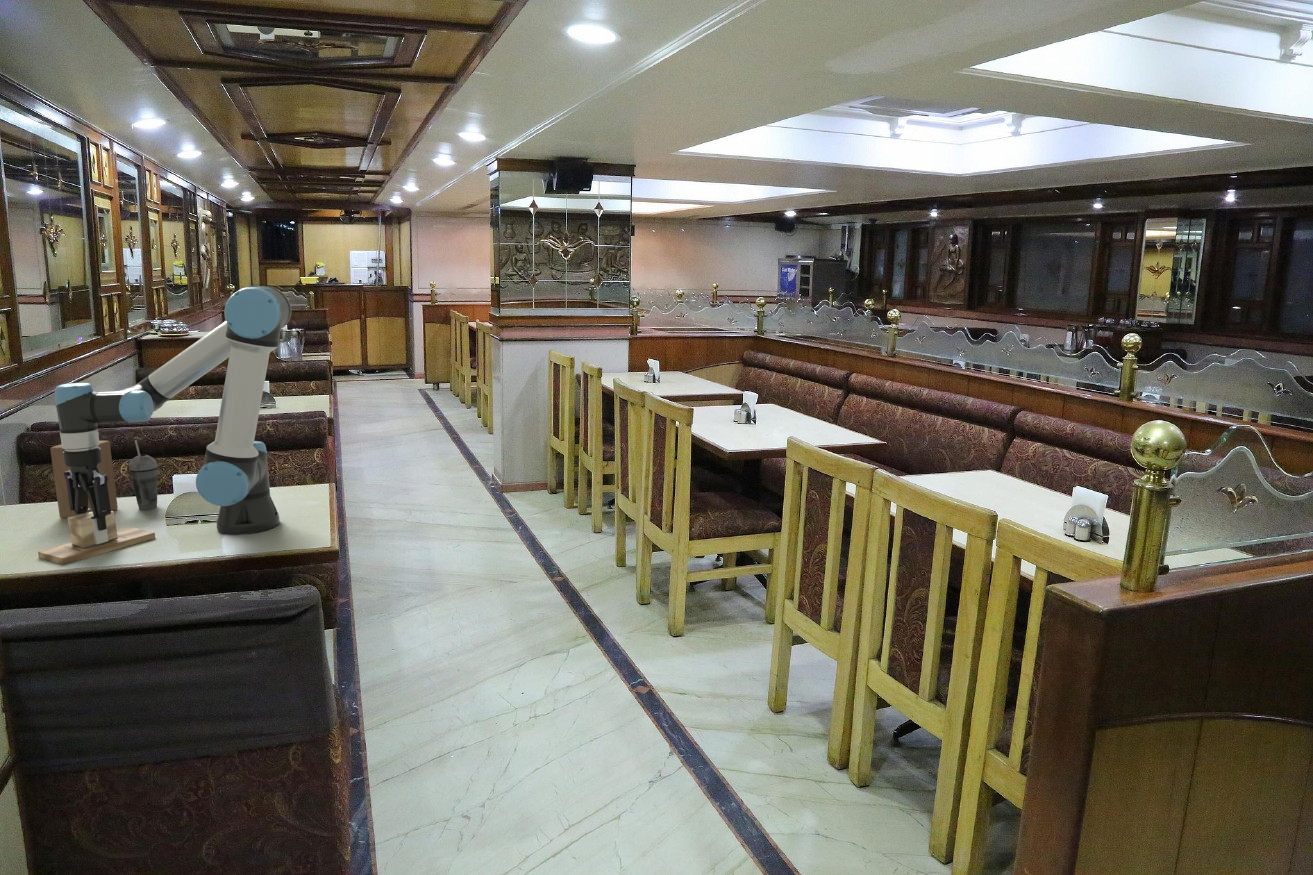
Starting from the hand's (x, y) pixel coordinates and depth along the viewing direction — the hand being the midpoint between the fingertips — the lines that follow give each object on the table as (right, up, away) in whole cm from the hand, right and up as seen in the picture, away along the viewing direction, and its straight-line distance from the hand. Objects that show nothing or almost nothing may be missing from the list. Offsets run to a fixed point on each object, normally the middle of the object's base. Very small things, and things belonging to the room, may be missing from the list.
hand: (94, 540), depth 205 cm
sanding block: (0, 0, 0) cm, 0 cm away
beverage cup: (-8, +5, +35) cm, 36 cm away
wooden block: (-21, +4, +30) cm, 37 cm away
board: (0, -2, +1) cm, 2 cm away
